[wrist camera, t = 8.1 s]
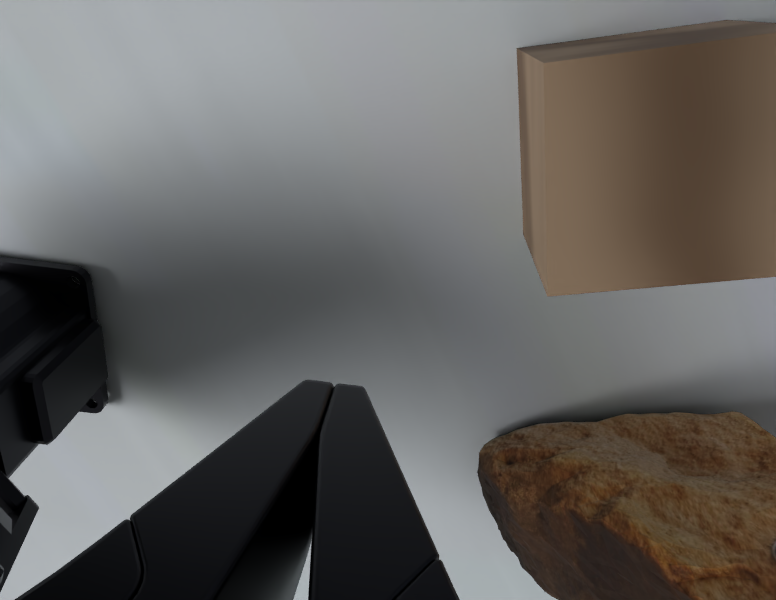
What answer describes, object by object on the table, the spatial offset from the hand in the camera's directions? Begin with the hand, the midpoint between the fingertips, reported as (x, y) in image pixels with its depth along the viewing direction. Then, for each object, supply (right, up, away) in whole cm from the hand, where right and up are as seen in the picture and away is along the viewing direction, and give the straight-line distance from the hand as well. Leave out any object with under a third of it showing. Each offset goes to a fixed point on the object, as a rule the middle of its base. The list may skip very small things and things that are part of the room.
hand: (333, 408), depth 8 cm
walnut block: (+8, +7, +11) cm, 15 cm away
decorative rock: (+11, -4, +16) cm, 20 cm away
